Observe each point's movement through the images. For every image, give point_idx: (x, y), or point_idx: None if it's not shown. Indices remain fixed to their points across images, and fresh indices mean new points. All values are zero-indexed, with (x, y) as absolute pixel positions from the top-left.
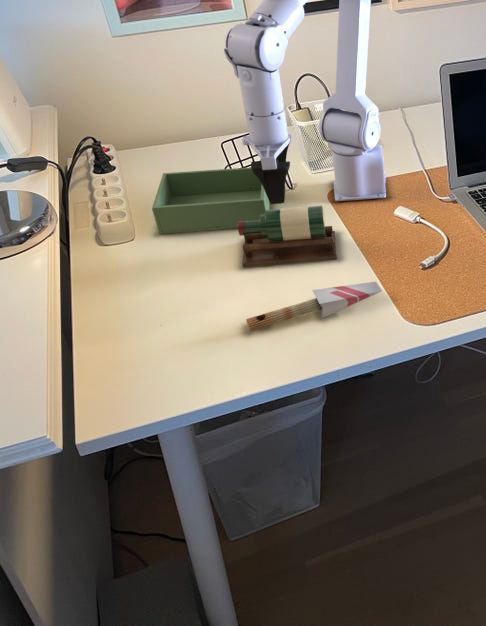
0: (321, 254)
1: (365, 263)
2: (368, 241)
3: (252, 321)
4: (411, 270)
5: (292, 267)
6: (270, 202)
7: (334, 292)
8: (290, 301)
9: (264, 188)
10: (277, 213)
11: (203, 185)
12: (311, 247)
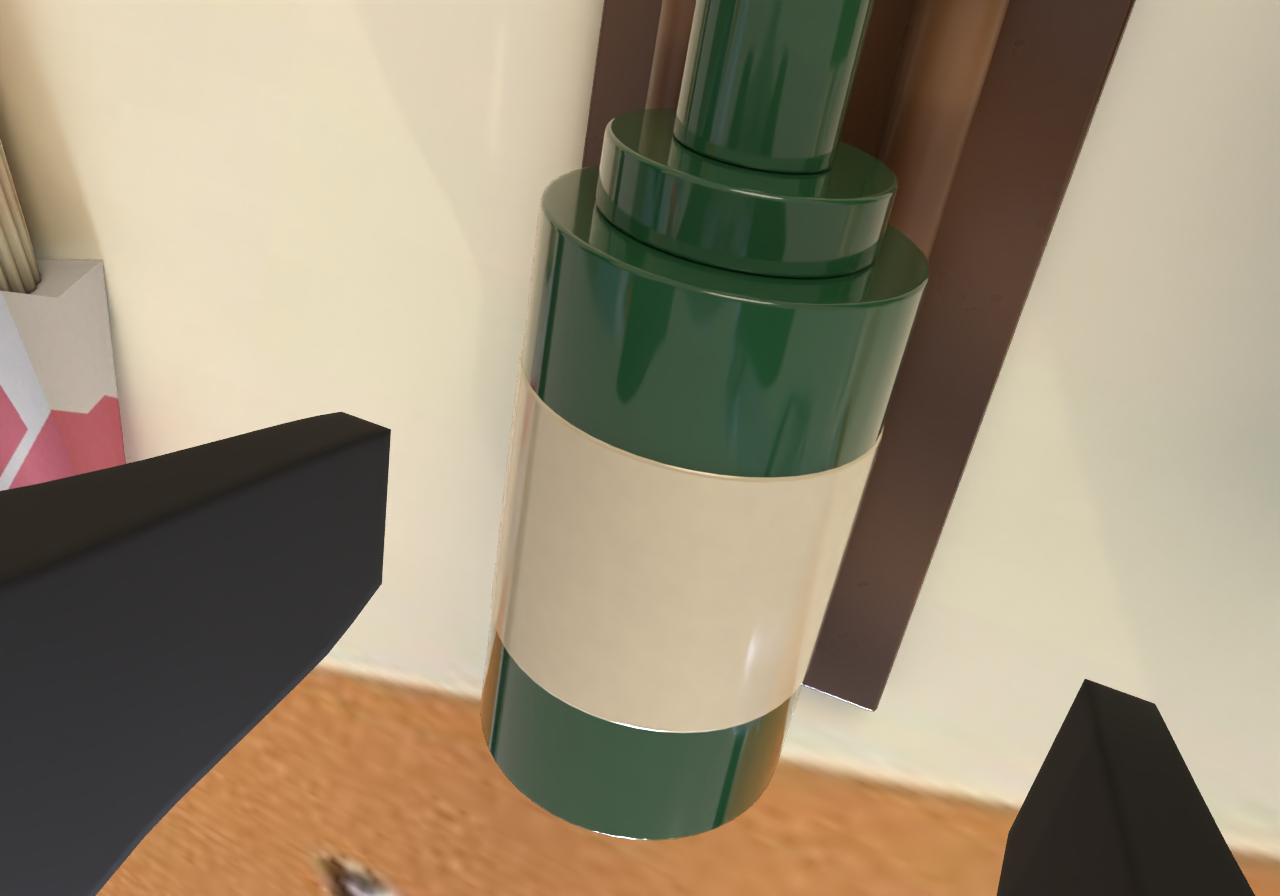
0: None
1: (451, 678)
2: None
3: None
4: (334, 821)
5: (530, 250)
6: (310, 419)
7: (5, 406)
8: (143, 122)
9: (52, 485)
10: (597, 408)
11: None
12: None
